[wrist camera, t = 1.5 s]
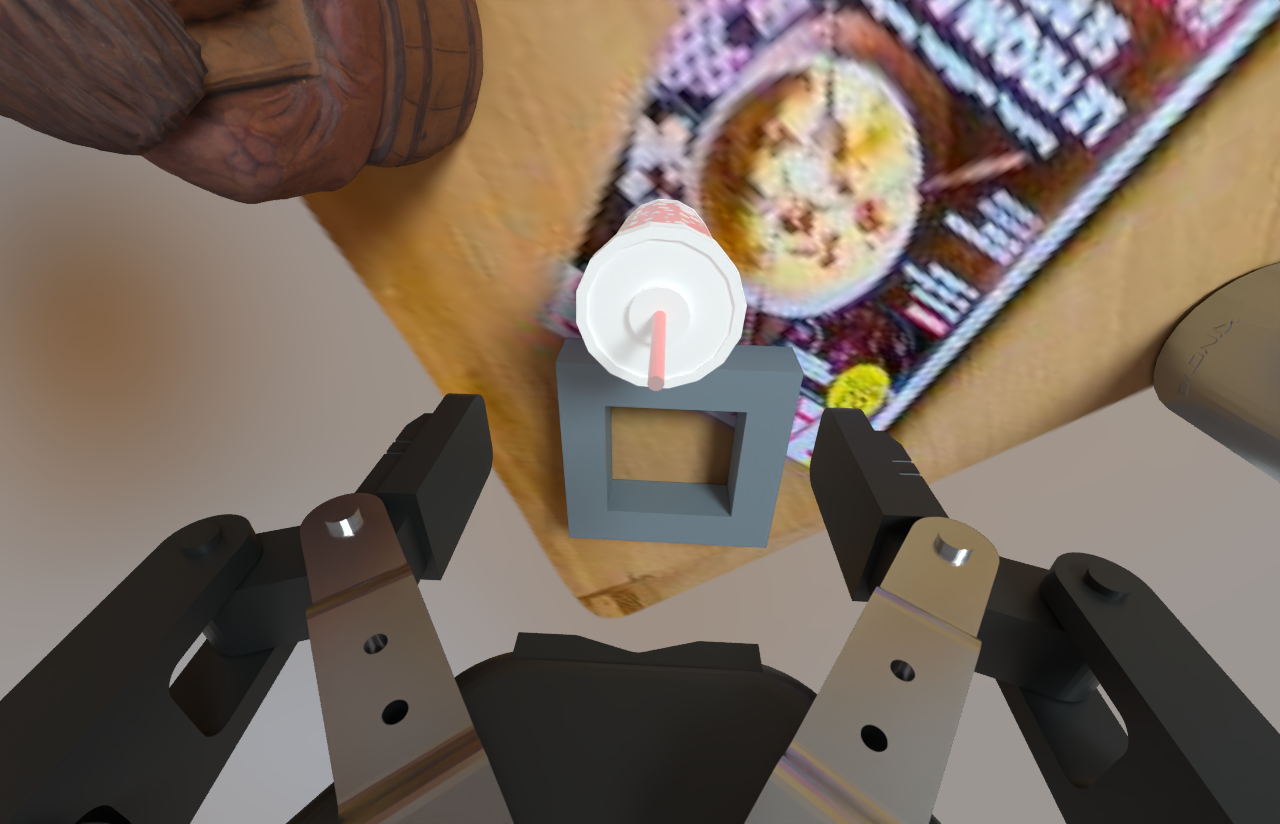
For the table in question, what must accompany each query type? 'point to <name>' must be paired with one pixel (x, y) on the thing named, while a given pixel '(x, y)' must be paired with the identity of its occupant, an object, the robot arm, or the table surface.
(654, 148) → the table surface
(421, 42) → the wooden figurine
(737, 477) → the hole plate
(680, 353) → the beverage cup
